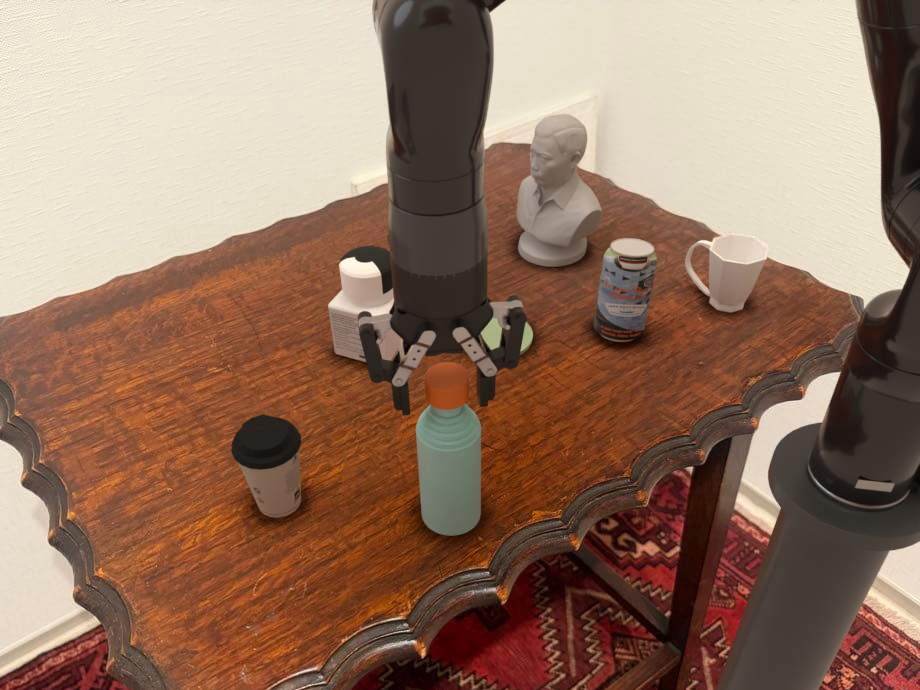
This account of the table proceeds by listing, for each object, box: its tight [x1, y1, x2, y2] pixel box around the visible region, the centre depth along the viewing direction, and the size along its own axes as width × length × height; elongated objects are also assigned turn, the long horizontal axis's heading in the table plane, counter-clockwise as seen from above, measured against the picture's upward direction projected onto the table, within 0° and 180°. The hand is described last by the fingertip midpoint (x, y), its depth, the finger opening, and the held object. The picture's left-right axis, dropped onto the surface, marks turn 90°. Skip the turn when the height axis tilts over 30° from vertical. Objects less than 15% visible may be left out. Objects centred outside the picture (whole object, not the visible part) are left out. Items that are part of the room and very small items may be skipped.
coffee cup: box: [230, 414, 302, 519], centre depth 88 cm, size 7×7×10 cm
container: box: [327, 245, 401, 363], centre depth 105 cm, size 8×8×13 cm
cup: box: [684, 232, 771, 313], centre depth 108 cm, size 7×10×8 cm
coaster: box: [481, 318, 534, 356], centre depth 108 cm, size 9×9×1 cm
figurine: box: [515, 113, 604, 268], centre depth 115 cm, size 9×13×20 cm
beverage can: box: [593, 237, 658, 343], centre depth 103 cm, size 6×7×12 cm
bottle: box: [415, 403, 482, 537], centre depth 82 cm, size 6×6×18 cm
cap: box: [424, 361, 470, 410], centre depth 76 cm, size 4×4×2 cm
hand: (444, 404), depth 78 cm, fingers open, 6 cm apart
